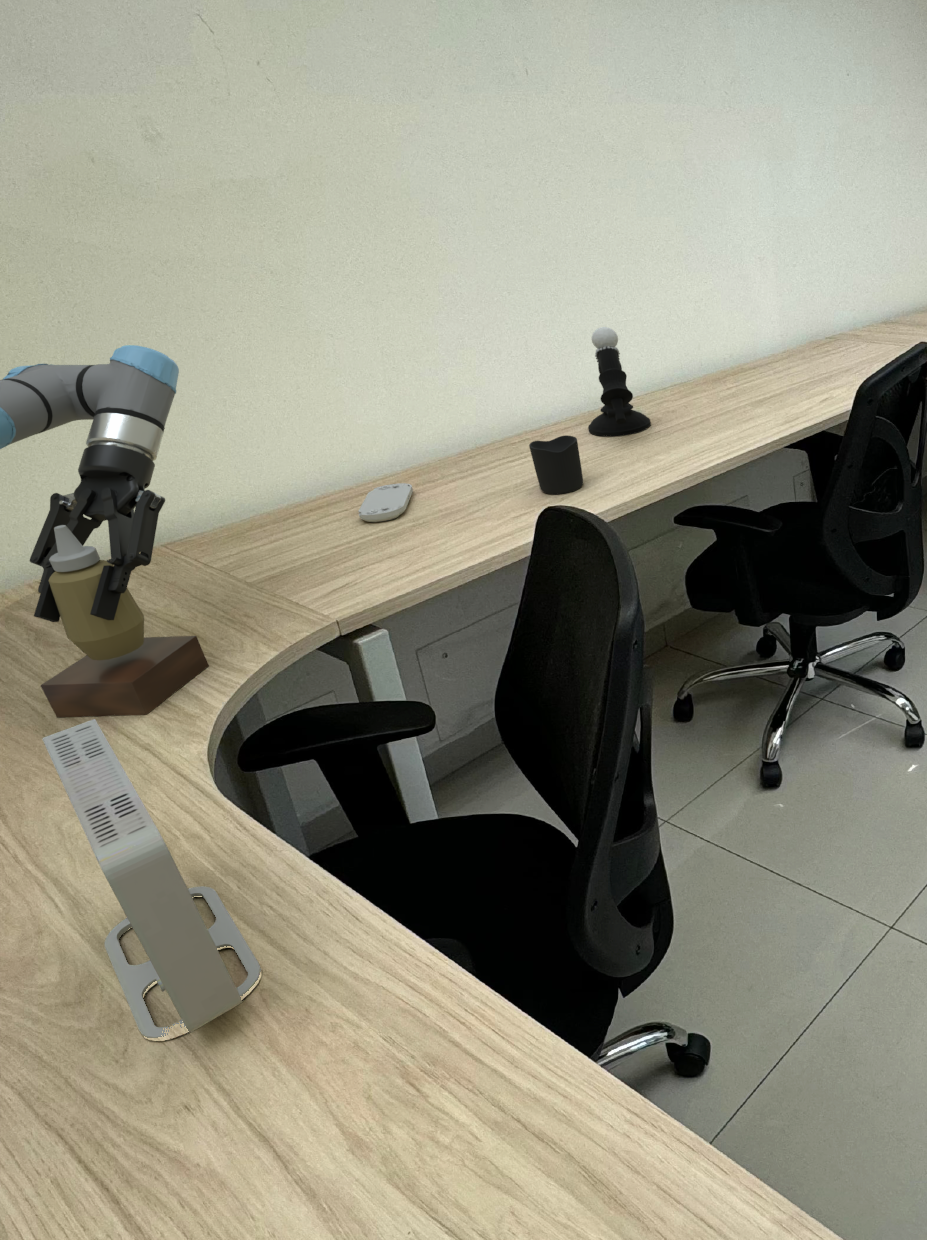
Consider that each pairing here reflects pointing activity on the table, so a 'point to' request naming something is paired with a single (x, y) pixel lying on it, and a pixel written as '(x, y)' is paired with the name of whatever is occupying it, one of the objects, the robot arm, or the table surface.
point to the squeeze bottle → (91, 602)
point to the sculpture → (614, 391)
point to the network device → (148, 890)
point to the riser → (126, 679)
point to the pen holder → (557, 464)
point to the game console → (385, 502)
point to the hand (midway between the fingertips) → (74, 617)
